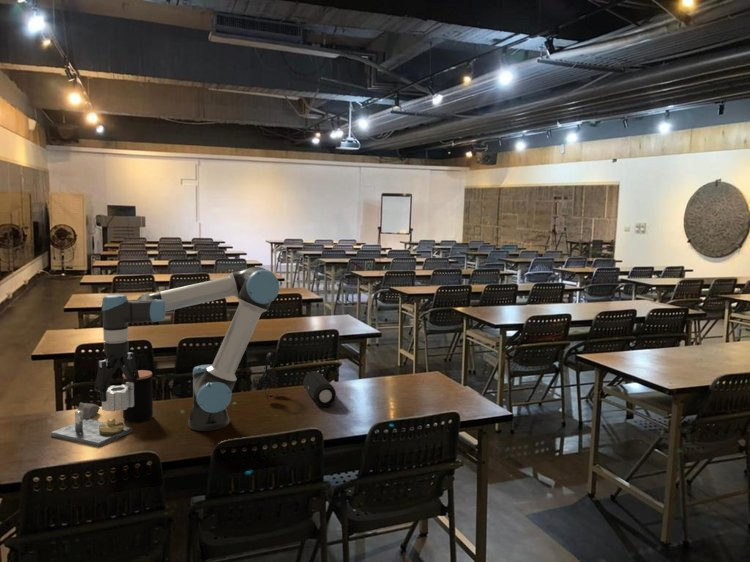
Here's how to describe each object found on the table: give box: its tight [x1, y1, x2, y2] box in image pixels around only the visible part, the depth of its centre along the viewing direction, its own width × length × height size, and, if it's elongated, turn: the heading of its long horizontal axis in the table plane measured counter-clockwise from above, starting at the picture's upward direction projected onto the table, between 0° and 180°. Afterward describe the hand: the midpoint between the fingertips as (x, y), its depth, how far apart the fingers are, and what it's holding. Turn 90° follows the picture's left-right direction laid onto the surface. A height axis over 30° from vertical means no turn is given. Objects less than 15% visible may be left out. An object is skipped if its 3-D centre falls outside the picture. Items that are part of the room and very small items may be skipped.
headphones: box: [258, 352, 277, 399], centre depth 248 cm, size 15×11×20 cm
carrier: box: [50, 409, 133, 448], centre depth 200 cm, size 22×15×8 cm
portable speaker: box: [302, 370, 337, 407], centre depth 249 cm, size 26×10×10 cm, turn 20°
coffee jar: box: [122, 369, 154, 424], centre depth 217 cm, size 11×11×18 cm
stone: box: [77, 402, 101, 420], centre depth 218 cm, size 10×8×6 cm
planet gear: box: [107, 384, 134, 412], centre depth 189 cm, size 10×10×6 cm
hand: (118, 405), depth 189 cm, fingers closed on planet gear, 10 cm apart
